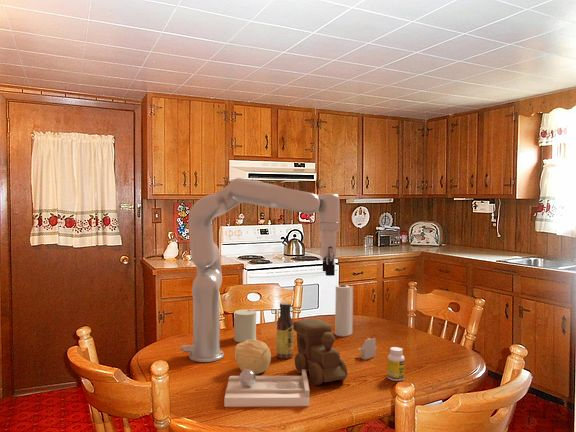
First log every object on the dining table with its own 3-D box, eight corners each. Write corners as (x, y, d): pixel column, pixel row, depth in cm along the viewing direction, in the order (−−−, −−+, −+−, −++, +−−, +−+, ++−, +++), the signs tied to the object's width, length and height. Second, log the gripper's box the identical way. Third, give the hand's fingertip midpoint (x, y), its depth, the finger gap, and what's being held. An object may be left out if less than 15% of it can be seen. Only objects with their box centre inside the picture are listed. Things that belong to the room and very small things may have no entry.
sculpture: (230, 374, 153) (230, 342, 153) (246, 362, 164) (246, 332, 164) (261, 379, 149) (261, 346, 149) (275, 367, 160) (275, 336, 160)
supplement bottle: (401, 382, 147) (401, 352, 147) (384, 379, 150) (385, 349, 150) (406, 377, 152) (406, 348, 152) (390, 373, 155) (391, 345, 154)
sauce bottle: (291, 360, 167) (291, 306, 166) (274, 358, 168) (275, 305, 168) (294, 354, 174) (295, 302, 173) (278, 353, 175) (278, 301, 174)
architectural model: (357, 358, 171) (358, 338, 171) (371, 354, 175) (371, 335, 175) (364, 360, 168) (364, 340, 168) (377, 357, 172) (378, 337, 172)
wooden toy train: (290, 368, 159) (290, 321, 158) (319, 363, 164) (319, 317, 163) (319, 390, 141) (320, 337, 140) (350, 384, 146) (351, 332, 145)
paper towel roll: (333, 336, 197) (334, 286, 196) (336, 332, 203) (337, 284, 202) (350, 337, 195) (351, 287, 194) (352, 333, 201) (353, 285, 200)
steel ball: (238, 389, 135) (238, 372, 135) (239, 382, 140) (239, 366, 140) (255, 389, 135) (255, 372, 135) (256, 382, 140) (256, 366, 140)
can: (260, 338, 193) (260, 310, 192) (247, 344, 185) (247, 314, 185) (243, 334, 198) (243, 307, 197) (229, 340, 190) (229, 311, 190)
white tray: (224, 406, 129) (224, 390, 129) (229, 383, 145) (229, 369, 145) (309, 406, 130) (309, 390, 130) (305, 383, 146) (305, 369, 146)
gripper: (316, 225, 178) (316, 269, 179) (321, 228, 161) (320, 277, 161) (335, 225, 178) (335, 269, 179) (342, 228, 161) (341, 277, 162)
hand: (328, 273), depth 170 cm, fingers open, 9 cm apart
